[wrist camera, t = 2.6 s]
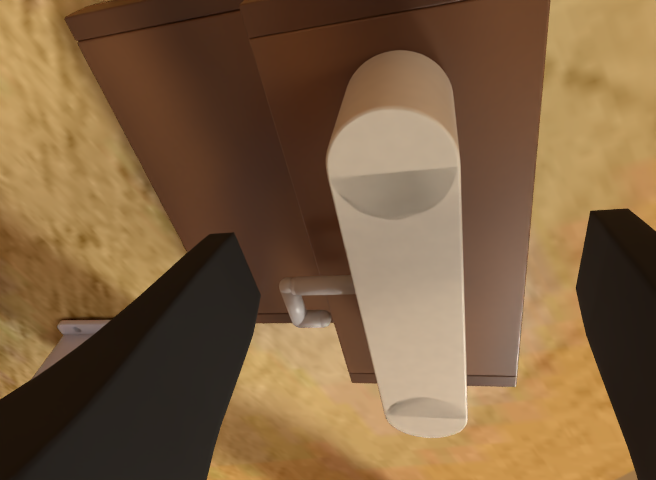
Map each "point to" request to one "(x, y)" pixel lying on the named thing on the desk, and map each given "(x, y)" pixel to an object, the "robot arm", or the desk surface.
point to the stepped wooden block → (325, 136)
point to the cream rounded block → (400, 239)
